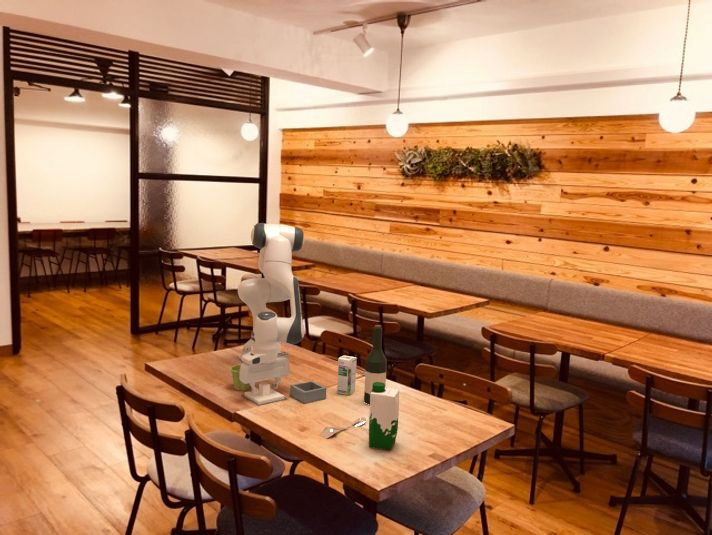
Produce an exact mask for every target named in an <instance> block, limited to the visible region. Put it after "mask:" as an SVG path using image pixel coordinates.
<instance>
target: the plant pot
mask: <svg viewBox="0 0 712 535" xmlns="http://www.w3.org/2000/svg"><path fill="white" fill-rule="evenodd" d="M240 366H241V364H237V365H233V366H231V367H230V369H229V370H230V371H231V375H232V382H233V389H234V390H235V391H248V390H250V389H251V386H250V384H249V383H248V384H244V383H243V382H241V381H240V378H239V376H240Z"/></svg>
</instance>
